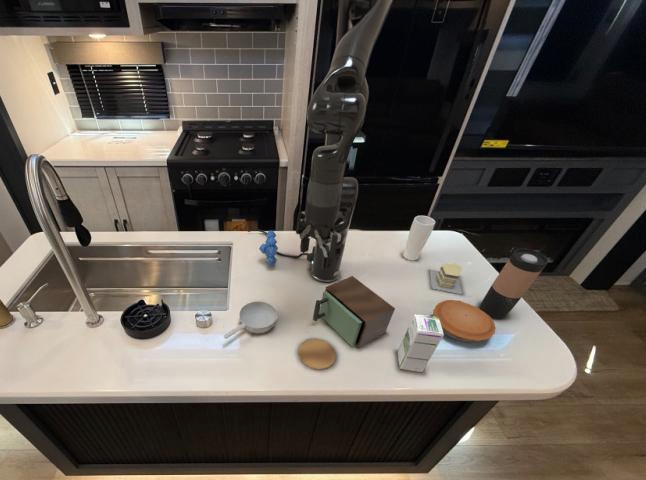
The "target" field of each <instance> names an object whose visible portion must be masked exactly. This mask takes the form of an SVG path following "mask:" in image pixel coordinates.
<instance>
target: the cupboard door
mask: <svg viewBox="0 0 646 480" xmlns="http://www.w3.org/2000/svg"><path fill="white" fill-rule="evenodd" d="M313 309H314V310H313V315H312V321H314V322H318V320H319V319H321V318H322V319H323V320H324V321H325V322H326V323H327V324H328V325H329V326H330V327H331V328H332V329H333V330H334V331H335V332H336V333H337V334H338V335H339V336H340V337H341V338H343V339H344V340H345V341H346V343H348V344H349V345H350V346H351V347H354V346H356V345H355V342H356V339H357V336H358V333H359V330H360V327H361V324H362V322H361V321H360V320H359V319H358V318H357V317H356V316H355V315H353V314H352V313H351V312H350V311H349V310H348V309H346V308H345V307H344V306H343V305H342V304H341V303H340V302H338V301H337V300H336V299H335V298H334V297H333V296H332V295H330V294H329V293H328V292H327V291H325V290H323V292H322V296H321V299H320V300H319V299H317V300H315V305H314V308H313Z"/></svg>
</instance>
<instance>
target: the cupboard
mask: <svg viewBox="0 0 646 480" xmlns="http://www.w3.org/2000/svg"><path fill="white" fill-rule="evenodd" d="M324 291H327V292H328V293H329V294H330V295H332V296H333V297H334V298H335V299H336V300H337V301H338V302H340V303H341V304H342V305H343V306H344V307H345V308H346V309H348V310H349V311H350V312H351V313H352V314H353V315H355V316H356V317H357V318H358V319H359V320H360V321H361V322H362V324H361V327H360V330H359V333H358V336H357V339H356V342H355V345H354V346H356V347H357V348H358V349H359V348H361V347H363V346H365V345H368V344H369V343H371V342H372V341H374V340H376V339H378V338H380V337H382V336H384V335H385V334H386V332H387V329H388V327H389V325H390V322H391V320H392V317H393V315H394V313H395V310H396V308H395V307H394V305H391V303H389V302H388V301H386V300H385V299H383V297H381V296H380V295H379V294H377V293H376V292H374V291H373V290H372V289H370V288H369V287H368V286H367V285H365V284H364V283H362V282H361V280H358V279H357V278H356V277H355V276H353V275H351V276H348V277H346V278H344V279H341V280H339V281H336V282H334V283H332V284H329V285H327V286H325V288H324Z"/></svg>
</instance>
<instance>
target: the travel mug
mask: <svg viewBox="0 0 646 480" xmlns="http://www.w3.org/2000/svg"><path fill="white" fill-rule="evenodd" d="M548 263H549V259H548V258H547V256H546V255H544V254H543V253H542V252H539V251H537V250H533V249H530V248H517V249H515V250H514V251H513V253H512V254H511V256H510V257H509V259H508V260H507V261H506V263H505V265H503V267H502V269H501V271H500V272H499V274H497V276H496V278H495V279H494V281H493V283H492V284H491V285H490V287H489V289H488V290H487V292H486V294H485V295H484V297H483V299H482V301H481V302H480V304H479V306H478V308H479V309H480V310H482V311H483V312H485V313H486V314H487V315H489V316H490V317H491V319H492V320H503V319H505V318H507V316H508V315H509V314H510V312H511V311H512V310H513V309H514V307H516V305H517V304H518V303H519V301H520V300H521V299H522V298H523V297H524V295H525V294H526V293H527V291H528V290H529V289H530V288H531V286H532V285H533V283H534V282H535V281H536V280H537V278H538V277H539V276H540V275H541V273H542V272H543V270H544V269H545V267H547V265H548Z"/></svg>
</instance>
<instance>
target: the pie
mask: <svg viewBox="0 0 646 480" xmlns="http://www.w3.org/2000/svg"><path fill="white" fill-rule="evenodd" d="M432 311H433V316H434V317H439V320H440V323H441V327H442V330H443V333H444V335H446V336H447V337H448V338H450V339H452V340H455V341H457V342H461V343H475V342H479V341H485V340H489V339H491V338H492V337H493V336H494V335H495V334H496V324H495V321H494V319H493V318H491V317H490V316H489V315H487V314H486V313H485V312H483V311H482V310H480V309H479V307H477V306H475V305H473V304H470V303H469V302H468V303H467V302H465V301H462V300H456V299H448V300H447V299H446V300H442V301H440V302H438V303H437V304H436V305H435V306H434V308H433V310H432Z"/></svg>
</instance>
